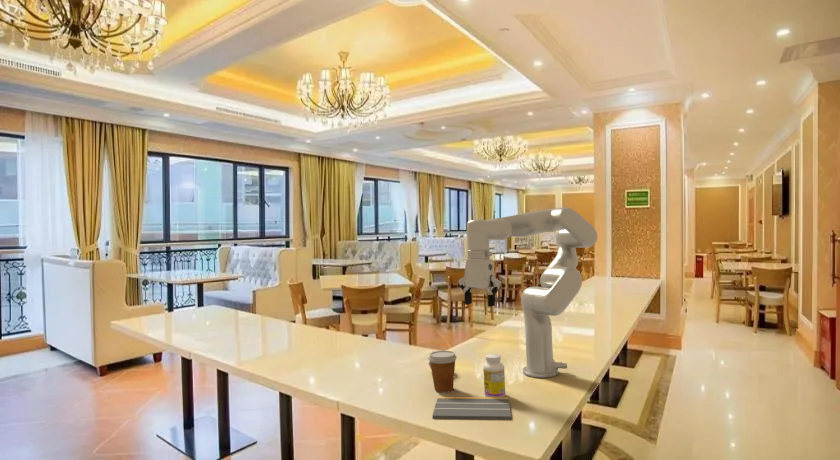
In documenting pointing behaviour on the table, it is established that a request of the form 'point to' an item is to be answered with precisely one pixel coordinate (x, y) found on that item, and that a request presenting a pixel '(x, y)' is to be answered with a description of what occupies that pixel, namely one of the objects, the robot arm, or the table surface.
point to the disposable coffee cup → (443, 370)
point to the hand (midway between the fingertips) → (479, 305)
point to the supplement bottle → (494, 376)
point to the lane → (472, 408)
